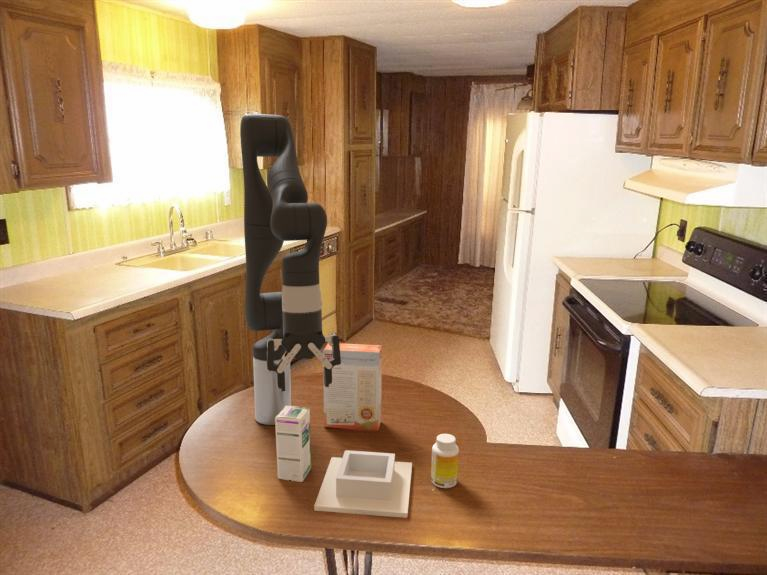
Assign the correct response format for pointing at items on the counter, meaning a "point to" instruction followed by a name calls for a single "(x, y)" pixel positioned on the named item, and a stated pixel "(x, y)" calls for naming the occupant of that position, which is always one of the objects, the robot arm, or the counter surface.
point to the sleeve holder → (366, 485)
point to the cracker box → (354, 388)
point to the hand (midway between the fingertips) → (305, 388)
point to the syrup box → (293, 443)
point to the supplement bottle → (445, 461)
